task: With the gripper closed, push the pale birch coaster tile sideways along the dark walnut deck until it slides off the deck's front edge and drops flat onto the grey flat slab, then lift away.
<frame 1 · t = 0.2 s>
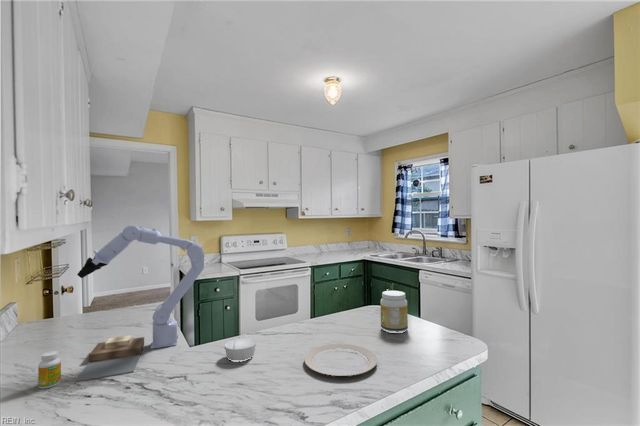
hand: (82, 274, 121), 31 cm above the countertop, tool tilted 45°, fingers open, 7 cm apart
walnut deck: (118, 353, 122), on the countertop
supplement tub: (394, 330, 144), on the countertop
plate: (340, 364, 111), on the countertop
birch tile: (119, 344, 123), point 3 cm above the countertop, touching walnut deck
grey flat slab: (110, 367, 109), on the countertop
supplement bottle: (49, 385, 98), on the countertop
ramekin: (240, 358, 117), on the countertop
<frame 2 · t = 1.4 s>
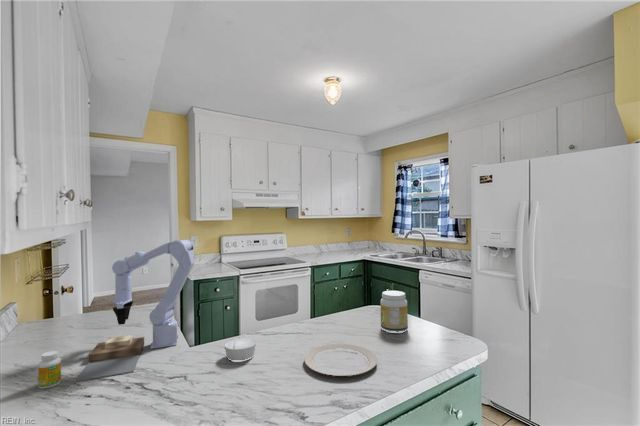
hand: (123, 321, 130), 9 cm above the countertop, tool pointing down, fingers open, 6 cm apart
nothing on the countertop moved.
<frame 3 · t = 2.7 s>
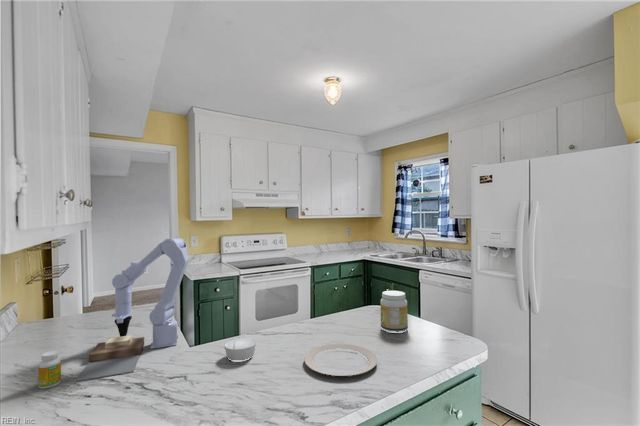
hand: (123, 335, 130), 4 cm above the countertop, tool pointing down, fingers closed
nothing on the countertop moved.
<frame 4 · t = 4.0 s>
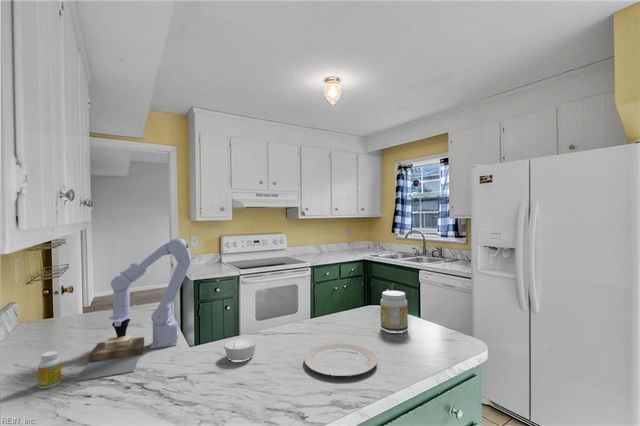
hand: (121, 339, 126), 4 cm above the countertop, tool pointing down, fingers closed
birch tile: (119, 344, 123), point 3 cm above the countertop, touching gripper, walnut deck
everything else where it was.
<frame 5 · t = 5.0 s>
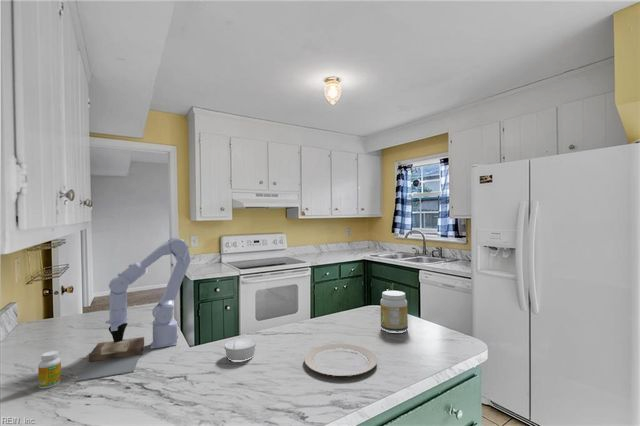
hand: (118, 344, 121), 4 cm above the countertop, tool pointing down, fingers closed
birch tile: (115, 349, 117), point 3 cm above the countertop, touching gripper, walnut deck
everything else where it was.
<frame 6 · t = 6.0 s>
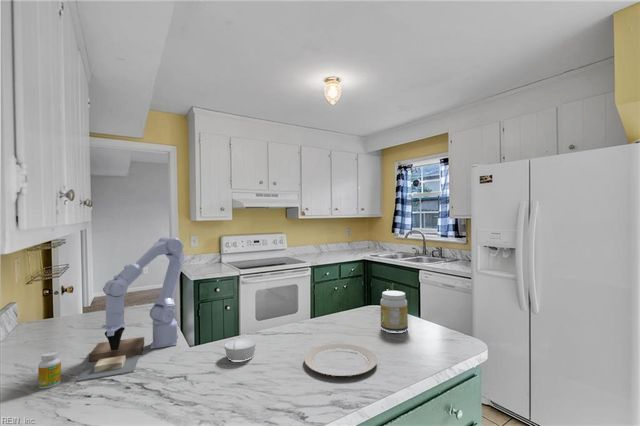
hand: (114, 349, 116), 4 cm above the countertop, tool pointing down, fingers closed
birch tile: (110, 360, 110), point 2 cm above the countertop, tilted 180°, touching grey flat slab
everything else where it was.
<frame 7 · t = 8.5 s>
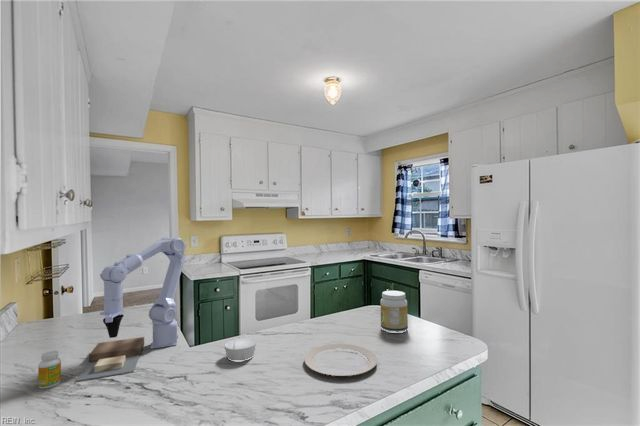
hand: (113, 336, 113), 9 cm above the countertop, tool pointing down, fingers closed
nothing on the countertop moved.
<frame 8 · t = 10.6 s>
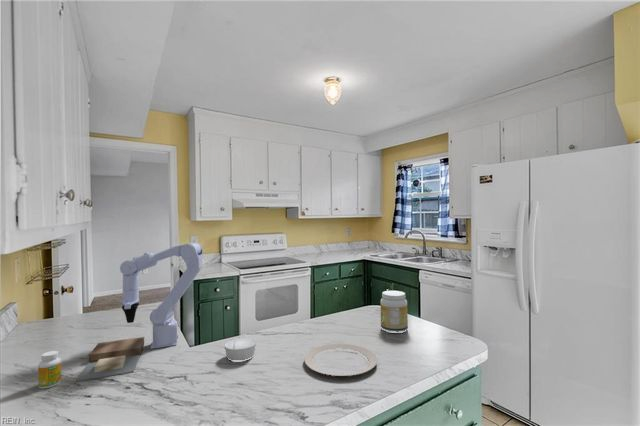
hand: (130, 322, 130), 9 cm above the countertop, tool pointing down, fingers closed
nothing on the countertop moved.
at the end: birch tile inside the target area (0.2 cm from its centre), point 2.4 cm above the countertop; birch tile point 2.4 cm above the countertop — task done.
